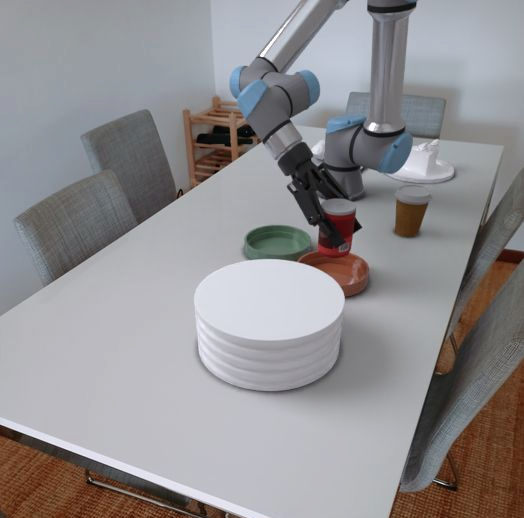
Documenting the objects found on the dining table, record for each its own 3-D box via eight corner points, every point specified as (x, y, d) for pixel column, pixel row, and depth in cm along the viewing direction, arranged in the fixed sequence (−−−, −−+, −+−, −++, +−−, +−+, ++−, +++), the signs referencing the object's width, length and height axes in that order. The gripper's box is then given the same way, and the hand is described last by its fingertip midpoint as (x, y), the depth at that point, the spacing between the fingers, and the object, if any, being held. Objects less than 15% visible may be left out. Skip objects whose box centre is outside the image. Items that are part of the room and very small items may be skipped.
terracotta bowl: (324, 255, 131) (325, 243, 129) (381, 278, 122) (383, 265, 120) (280, 280, 121) (281, 267, 119) (339, 307, 112) (340, 294, 110)
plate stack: (362, 374, 94) (371, 324, 87) (215, 404, 88) (211, 353, 81) (309, 297, 115) (312, 251, 108) (187, 316, 109) (182, 269, 102)
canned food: (353, 246, 119) (359, 200, 112) (346, 261, 113) (352, 214, 106) (321, 240, 121) (325, 196, 114) (313, 255, 115) (316, 209, 108)
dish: (461, 167, 184) (469, 134, 177) (440, 188, 168) (448, 153, 161) (396, 155, 195) (402, 123, 188) (371, 174, 178) (375, 140, 171)
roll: (307, 163, 187) (308, 147, 183) (316, 153, 195) (317, 138, 192) (322, 165, 185) (324, 149, 181) (331, 155, 194) (332, 140, 190)
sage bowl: (274, 230, 142) (274, 219, 140) (323, 250, 133) (324, 238, 131) (230, 251, 133) (230, 239, 130) (280, 274, 123) (280, 261, 121)
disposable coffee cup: (424, 241, 138) (434, 198, 130) (388, 238, 139) (396, 195, 132) (423, 226, 145) (432, 185, 137) (389, 223, 146) (396, 182, 139)
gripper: (302, 149, 120) (356, 229, 123) (253, 175, 106) (315, 264, 109) (323, 129, 114) (380, 213, 117) (275, 153, 100) (340, 248, 103)
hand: (349, 238), depth 113 cm, fingers closed on canned food, 8 cm apart
